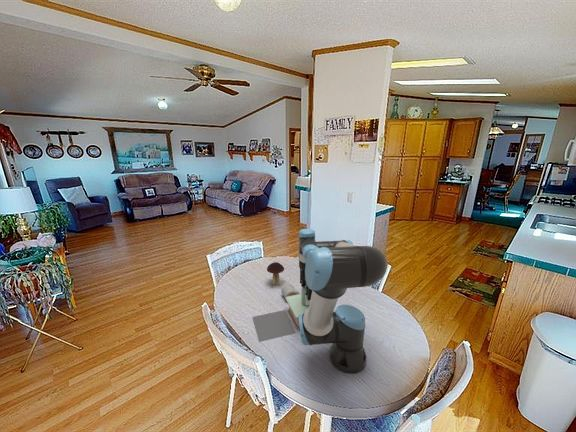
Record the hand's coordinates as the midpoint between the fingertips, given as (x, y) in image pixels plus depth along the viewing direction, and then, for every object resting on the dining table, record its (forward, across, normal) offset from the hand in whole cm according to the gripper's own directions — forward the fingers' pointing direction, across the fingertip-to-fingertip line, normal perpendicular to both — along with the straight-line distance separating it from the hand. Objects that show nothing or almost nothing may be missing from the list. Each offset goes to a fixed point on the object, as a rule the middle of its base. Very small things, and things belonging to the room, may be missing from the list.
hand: (306, 301), depth 132 cm
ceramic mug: (+10, +18, +2) cm, 20 cm away
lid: (+2, 0, 0) cm, 2 cm away
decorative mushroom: (+10, +35, +7) cm, 37 cm away
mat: (+9, -1, +18) cm, 20 cm away
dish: (+9, 0, 0) cm, 9 cm away
